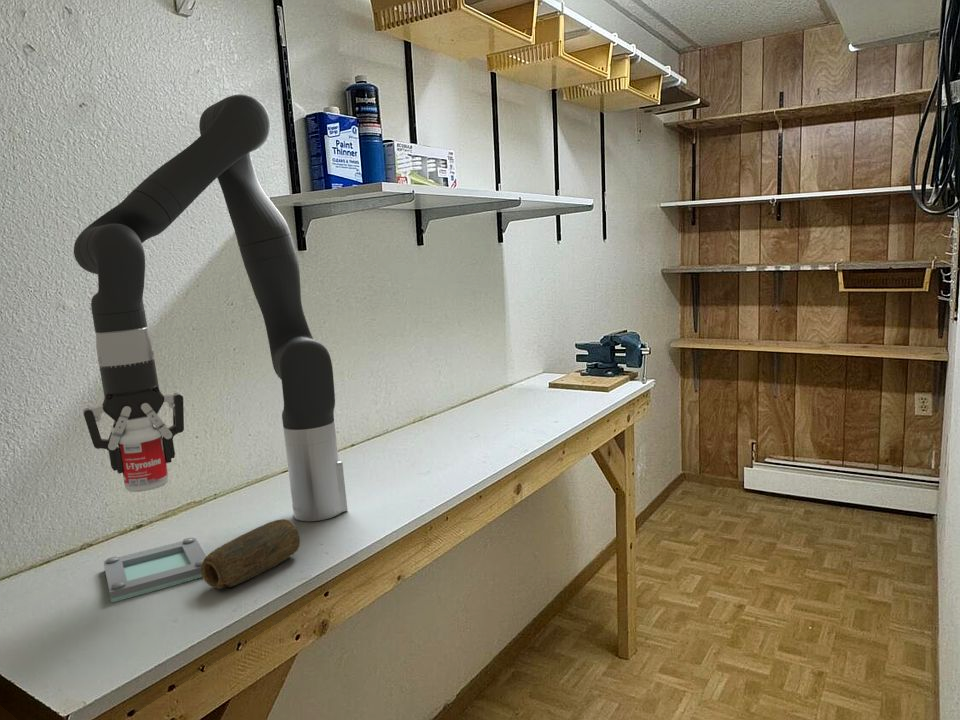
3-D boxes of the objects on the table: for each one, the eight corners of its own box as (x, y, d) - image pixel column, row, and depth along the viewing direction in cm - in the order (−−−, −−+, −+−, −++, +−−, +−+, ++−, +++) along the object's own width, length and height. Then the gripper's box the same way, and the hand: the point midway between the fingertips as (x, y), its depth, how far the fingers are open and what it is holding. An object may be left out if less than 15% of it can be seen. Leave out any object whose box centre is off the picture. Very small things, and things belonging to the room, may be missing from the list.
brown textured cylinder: (274, 551, 116) (269, 512, 115) (305, 557, 113) (301, 517, 112) (198, 591, 103) (192, 548, 103) (230, 599, 100) (224, 554, 99)
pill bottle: (124, 496, 105) (112, 424, 103) (126, 485, 110) (114, 416, 109) (170, 487, 107) (158, 416, 106) (169, 477, 113) (158, 409, 111)
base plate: (196, 546, 121) (195, 535, 120) (212, 574, 109) (211, 562, 108) (104, 570, 113) (103, 558, 113) (111, 602, 102) (109, 589, 101)
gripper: (173, 351, 113) (189, 452, 115) (71, 365, 105) (90, 473, 108) (181, 354, 107) (198, 461, 109) (73, 369, 99) (93, 484, 102)
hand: (144, 466), depth 108 cm, fingers closed on pill bottle, 6 cm apart
